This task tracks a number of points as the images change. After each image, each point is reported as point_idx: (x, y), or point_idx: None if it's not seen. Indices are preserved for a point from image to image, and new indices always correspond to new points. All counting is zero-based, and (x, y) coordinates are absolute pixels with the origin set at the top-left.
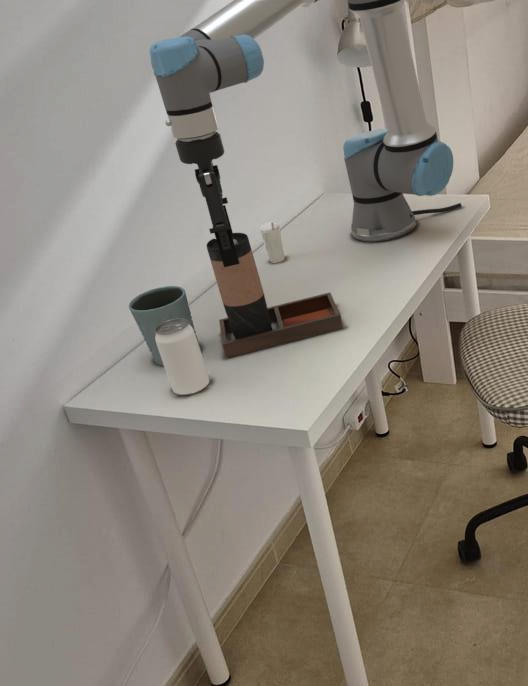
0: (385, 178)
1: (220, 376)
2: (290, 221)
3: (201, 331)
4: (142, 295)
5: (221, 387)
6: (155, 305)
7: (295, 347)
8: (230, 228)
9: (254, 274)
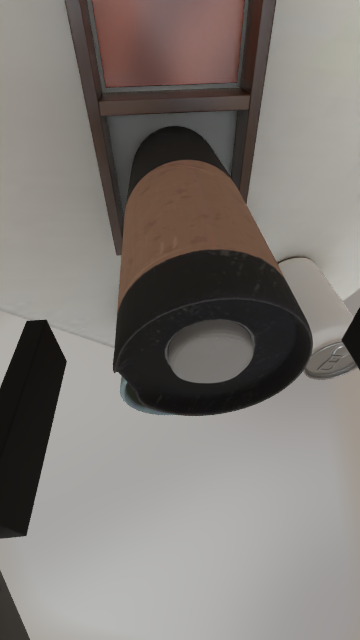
0: None
1: (290, 240)
2: None
3: (92, 274)
4: (137, 405)
5: (329, 238)
6: None
7: (288, 65)
8: (32, 368)
9: (241, 208)
